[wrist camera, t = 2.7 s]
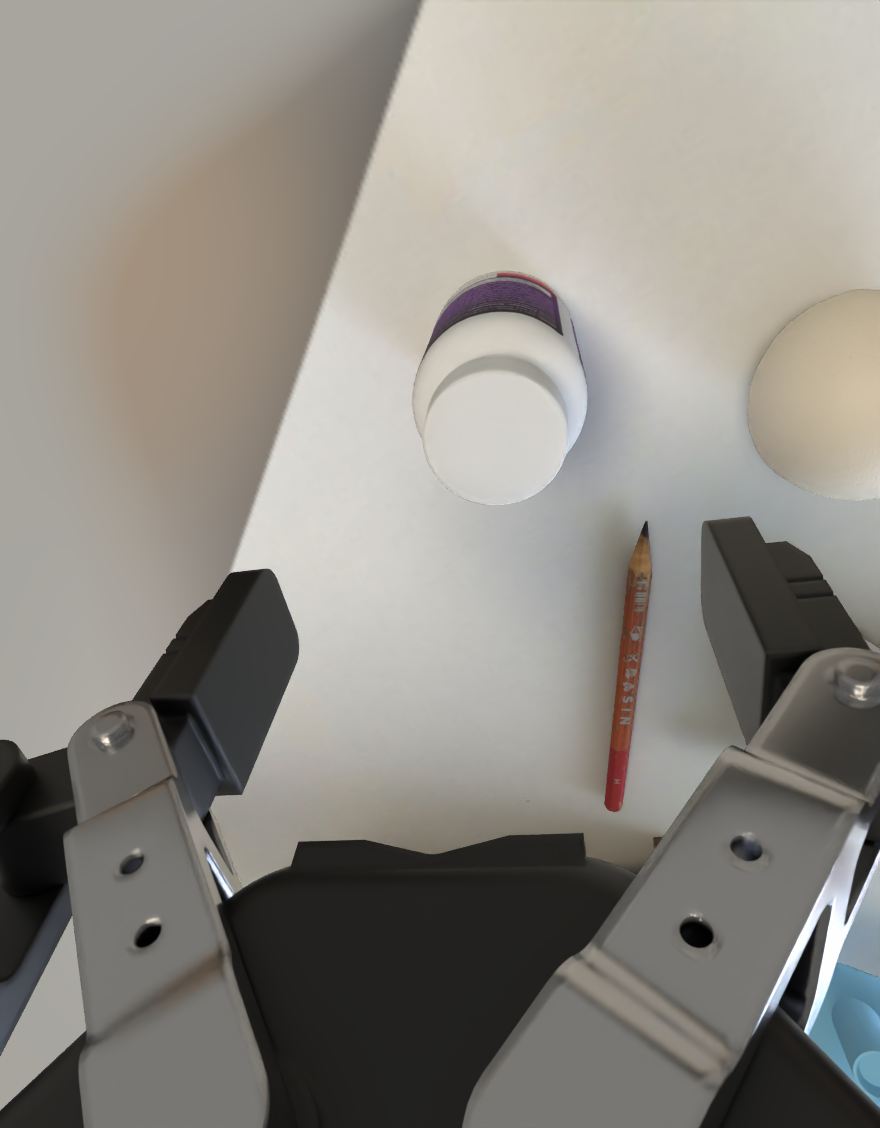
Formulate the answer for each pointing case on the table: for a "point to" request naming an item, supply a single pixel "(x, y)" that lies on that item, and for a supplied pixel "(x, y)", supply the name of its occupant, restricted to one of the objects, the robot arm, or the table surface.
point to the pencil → (628, 669)
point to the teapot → (852, 1027)
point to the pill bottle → (500, 389)
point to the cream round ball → (823, 399)
